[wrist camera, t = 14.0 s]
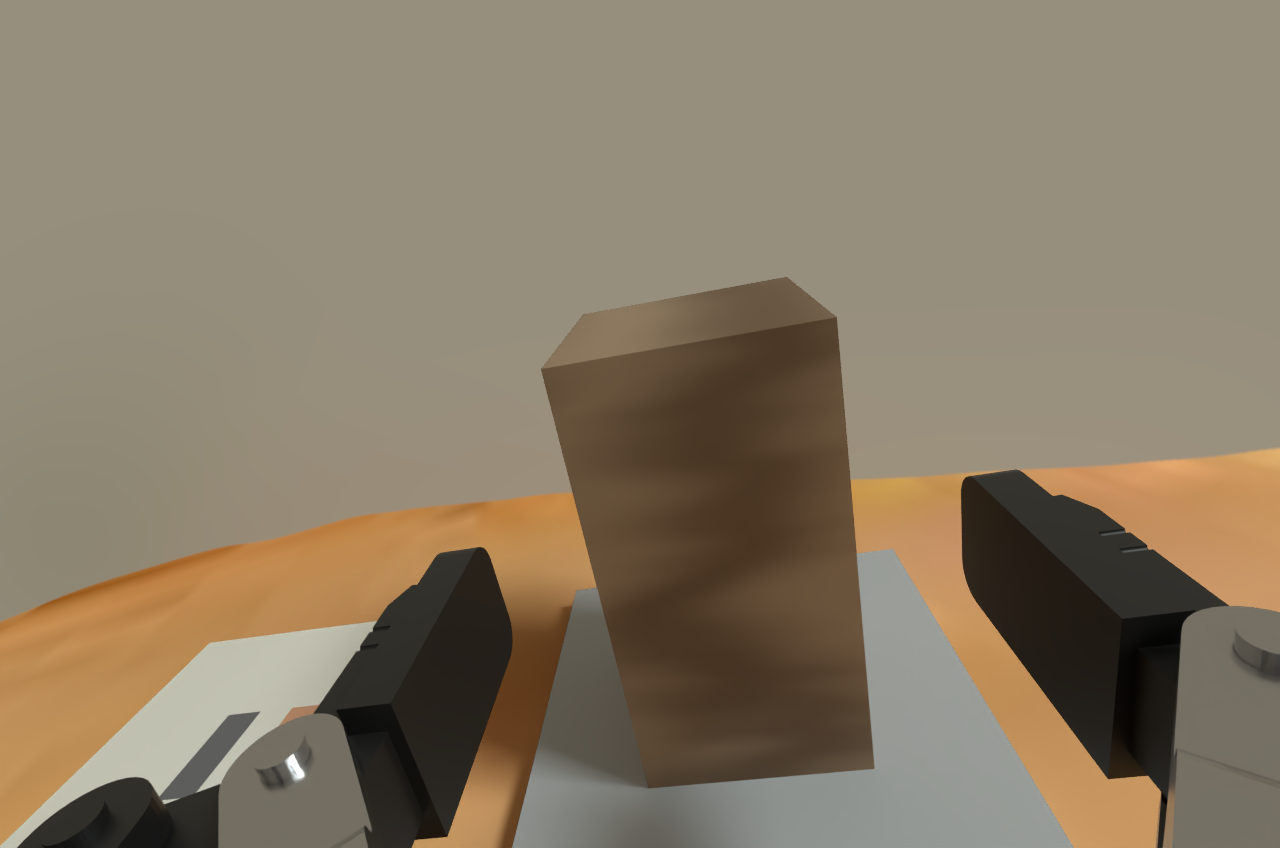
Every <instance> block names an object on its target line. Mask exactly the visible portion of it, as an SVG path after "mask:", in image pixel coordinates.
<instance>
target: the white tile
mask: <svg viewBox="0 0 1280 848" xmlns="http://www.w3.org/2000/svg"><path fill="white" fill-rule="evenodd" d="M376 622H377V621H374V622H366V623H359V624H351V625H343V626H336V627H328V628H320V629H313V630H305V631H297V632H290V633H282V634H274V635H267V636H259V637H251V638H244V639H236V640H229V641H221V642H213V643H209V644H208V645H207V646H206V647H205V648H204V649H203V650H202V651H201V652H200V653H199V654H198V655H197V656H196V657H195V658H194V659H193V660H192V661H191V662H190V663H189V664H188V665H187V666H186V667H185V668H183V669H182V670H181V671H180V672H179V673H178V674H177V675H176V676H175V677H174V678H173V679H172V680H171V681H170V682H169V683H168V684H167V685H166V686H165V687H164V688H163V689H162V690H161V691H160V692H159V693H158V694H157V695H156V696H155V697H154V698H153V699H151V700H150V701H149V702H148V703H147V704H146V705H145V706H144V707H143V708H142V709H141V710H140V711H139V712H138V713H137V714H136V715H135V716H134V717H133V718H132V719H131V720H130V721H129V722H128V723H127V724H126V725H125V726H124V727H123V728H122V729H121V730H120V731H118V732H117V733H116V734H115V735H114V736H113V737H112V738H111V739H110V740H109V741H108V742H107V743H106V744H105V745H104V746H103V747H102V748H101V749H100V750H99V751H98V752H97V753H96V754H95V755H94V756H93V757H92V758H91V759H90V760H89V761H88V762H86V763H85V764H84V765H83V766H82V767H81V768H80V769H79V770H78V771H77V772H76V773H75V774H74V775H73V776H72V777H71V778H70V779H69V780H68V781H67V782H66V783H65V784H64V785H63V786H62V787H61V788H60V789H59V790H58V791H57V792H56V793H54V794H53V795H52V796H51V797H50V798H49V799H48V800H47V801H46V802H45V803H44V804H43V805H42V806H41V807H40V808H39V809H38V810H37V811H36V812H35V813H34V814H33V815H32V816H31V817H30V818H29V819H28V820H27V821H26V822H25V823H24V824H22V825H21V826H20V827H19V828H18V829H17V830H16V831H15V832H14V833H13V834H12V835H11V836H10V837H9V838H8V839H7V840H6V841H5V842H4V843H3V844H2V845H1V846H0V848H17V847H18V846H19V845H20V844H21V843H22V842H23V841H24V840H25V839H26V838H27V837H28V836H29V835H30V834H31V833H32V832H33V831H34V830H35V829H36V828H37V827H38V826H40V825H41V824H42V823H43V822H44V821H45V820H47V819H48V818H49V817H51V816H52V815H53V814H55V813H56V812H57V811H58V810H60V809H61V808H63V807H64V806H66V805H67V804H69V803H70V802H72V801H74V800H75V799H77V798H79V797H80V796H82V795H84V794H86V793H88V792H90V791H92V790H93V789H95V788H98V787H100V786H102V785H105V784H107V783H110V782H113V781H116V780H119V779H124V778H129V777H141V778H144V779H147V780H148V781H149V782H150V783H151V784H152V786H153V787H154V789H155V790H156V792H157V794H158V795H159V797H160V798H161V800H162V802H163V803H164V804H167V803H169V802H172V801H175V800H177V799H180V798H183V797H186V796H188V795H191V794H194V793H197V792H199V791H202V790H205V789H207V788H210V787H213V786H216V785H218V784H221V782H222V780H223V778H224V776H225V774H226V772H227V771H228V769H229V768H230V767H231V765H232V764H233V763H234V761H235V760H236V759H237V758H238V757H239V756H240V755H241V754H242V753H243V752H244V751H245V750H246V749H247V748H248V747H249V746H250V745H252V744H253V743H254V742H255V741H257V740H258V739H259V738H261V737H262V736H263V735H265V734H266V733H268V732H269V731H271V730H273V729H275V728H276V727H278V726H280V725H282V724H284V723H286V722H288V721H291V720H293V719H296V718H299V717H302V716H306V715H311V714H313V713H314V712H315V710H316V709H317V707H318V706H319V705H320V703H321V702H322V700H323V699H324V697H325V696H326V694H327V693H328V692H329V690H330V689H331V687H332V686H333V684H334V683H335V681H336V680H337V679H338V677H339V676H340V674H341V673H342V671H343V670H344V668H345V667H346V665H347V664H348V663H349V661H350V660H351V658H352V657H353V655H354V654H355V652H356V651H360V645H361V644H362V642H363V641H364V639H365V638H366V637H367V635H368V634H369V632H373V626H374V625H375V623H376Z"/></svg>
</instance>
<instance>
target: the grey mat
mask: <svg viewBox="0 0 1280 848" xmlns="http://www.w3.org/2000/svg"><path fill="white" fill-rule="evenodd" d="M857 565H858V576H859V588H860V600H861V612H862V624H863V636H864V648H865V660H866V671H867V683H868V695H869V707H870V719H871V731H872V743H873V755H874V766H875V769H869V770H857V771H846V772H834V773H823V774H811V775H799V776H788V777H776V778H765V779H753V780H742V781H730V782H719V783H707V784H695V785H684V786H672V787H661V788H648V784H647V780H646V777H645V773H644V769H643V765H642V761H641V757H640V753H639V749H638V745H637V741H636V738H635V734H634V730H633V726H632V722H631V718H630V714H629V710H628V706H627V703H626V699H625V695H624V691H623V687H622V683H621V679H620V675H619V671H618V667H617V664H616V660H615V656H614V652H613V648H612V644H611V640H610V636H609V632H608V628H607V625H606V621H605V617H604V613H603V609H602V605H601V601H600V597H599V593H598V589H597V588H592V589H585V590H577V591H576V594H575V598H574V602H573V606H572V610H571V614H570V618H569V622H568V626H567V630H566V634H565V638H564V642H563V646H562V650H561V654H560V658H559V662H558V666H557V670H556V674H555V678H554V682H553V686H552V690H551V694H550V698H549V702H548V706H547V710H546V714H545V718H544V722H543V726H542V730H541V734H540V738H539V742H538V746H537V750H536V754H535V758H534V762H533V766H532V770H531V774H530V778H529V782H528V786H527V790H526V794H525V798H524V802H523V806H522V810H521V814H520V818H519V822H518V826H517V830H516V834H515V838H514V842H513V846H512V848H1074V847H1073V845H1072V844H1071V842H1070V840H1069V839H1068V837H1067V836H1066V834H1065V832H1064V831H1063V829H1062V827H1061V826H1060V824H1059V822H1058V821H1057V819H1056V817H1055V816H1054V814H1053V812H1052V811H1051V809H1050V807H1049V806H1048V804H1047V803H1046V801H1045V799H1044V798H1043V796H1042V794H1041V793H1040V791H1039V789H1038V788H1037V786H1036V784H1035V783H1034V781H1033V779H1032V778H1031V776H1030V774H1029V773H1028V771H1027V770H1026V768H1025V766H1024V765H1023V763H1022V761H1021V760H1020V758H1019V756H1018V755H1017V753H1016V751H1015V750H1014V748H1013V746H1012V745H1011V743H1010V741H1009V740H1008V738H1007V737H1006V735H1005V733H1004V732H1003V730H1002V728H1001V727H1000V725H999V723H998V722H997V720H996V718H995V717H994V715H993V713H992V712H991V710H990V708H989V707H988V705H987V704H986V702H985V700H984V699H983V697H982V695H981V694H980V692H979V690H978V689H977V687H976V685H975V684H974V682H973V680H972V679H971V677H970V675H969V674H968V672H967V670H966V669H965V667H964V666H963V664H962V662H961V661H960V659H959V657H958V656H957V654H956V652H955V651H954V649H953V647H952V646H951V644H950V642H949V641H948V639H947V637H946V636H945V634H944V633H943V631H942V629H941V628H940V626H939V624H938V623H937V621H936V619H935V618H934V616H933V614H932V613H931V611H930V609H929V608H928V606H927V604H926V603H925V601H924V600H923V598H922V596H921V595H920V593H919V591H918V590H917V588H916V586H915V585H914V583H913V581H912V580H911V578H910V576H909V575H908V573H907V571H906V570H905V568H904V567H903V565H902V563H901V562H900V560H899V558H898V557H897V555H896V553H895V552H894V550H893V549H889V550H881V551H873V552H866V553H858V554H857Z"/></svg>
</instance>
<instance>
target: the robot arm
mask: <svg viewBox="0 0 1280 848" xmlns="http://www.w3.org/2000/svg"><path fill="white" fill-rule="evenodd" d="M961 514H962V561H963V569H964V574H965V578H966V581H967V584H968V587H969V589H970V591H971V594H972V596H973V597H974V599H975V600H976V602H977V603H978V605H979V606H980V607H981V609H982V610H983V611H984V613H985V614H986V615H987V617H988V618H989V619H990V621H991V622H992V624H993V625H994V626H995V628H996V629H997V630H998V632H999V633H1000V634H1001V636H1002V637H1003V638H1004V640H1005V641H1006V642H1007V644H1008V645H1009V646H1010V648H1011V649H1012V650H1013V652H1014V653H1015V654H1016V656H1017V657H1018V659H1019V660H1020V661H1021V663H1022V664H1023V665H1024V667H1025V668H1026V669H1027V671H1028V672H1029V673H1030V675H1031V676H1032V677H1033V679H1034V680H1035V681H1036V683H1037V684H1038V685H1039V687H1040V688H1041V689H1042V691H1043V692H1044V693H1045V695H1046V696H1047V698H1048V699H1049V700H1050V702H1051V703H1052V704H1053V706H1054V707H1055V708H1056V710H1057V711H1058V712H1059V714H1060V715H1061V716H1062V718H1063V719H1064V720H1065V722H1066V723H1067V724H1068V726H1069V727H1070V728H1071V730H1072V731H1073V732H1074V734H1075V735H1076V737H1077V738H1078V739H1079V741H1080V742H1081V743H1082V745H1083V746H1084V747H1085V749H1086V750H1087V751H1088V753H1089V754H1090V755H1091V757H1092V758H1093V759H1094V761H1095V762H1096V763H1097V765H1098V766H1099V767H1100V769H1101V770H1102V772H1103V773H1104V774H1105V776H1106V777H1107V778H1108V779H1115V778H1126V777H1137V776H1149V777H1150V778H1151V780H1152V781H1153V782H1154V783H1155V785H1156V786H1157V787H1158V788H1159V789H1160V791H1161V796H1160V803H1159V811H1158V824H1157V837H1156V848H1280V612H1275V611H1271V610H1266V609H1260V608H1254V607H1243V606H1229V605H1227V604H1226V603H1225V602H1223V601H1222V600H1220V599H1219V598H1218V597H1216V596H1215V595H1214V594H1212V593H1211V592H1210V591H1208V590H1207V589H1206V588H1204V587H1203V586H1202V585H1200V584H1199V583H1198V582H1196V581H1195V580H1194V579H1192V578H1191V577H1189V576H1188V575H1187V574H1185V573H1184V572H1183V571H1181V570H1180V569H1179V568H1177V567H1176V566H1175V565H1173V564H1172V563H1171V562H1169V561H1168V560H1167V559H1165V558H1164V557H1163V556H1161V555H1160V554H1158V553H1157V552H1156V551H1154V550H1153V549H1152V550H1149V549H1148V548H1147V545H1146V544H1145V543H1144V542H1142V541H1141V540H1140V539H1138V538H1137V537H1136V536H1134V535H1133V534H1131V533H1126V532H1125V528H1123V527H1122V526H1121V525H1119V524H1118V523H1117V522H1115V521H1114V520H1113V519H1111V518H1110V517H1109V516H1107V515H1106V514H1105V513H1103V512H1102V511H1100V510H1099V509H1097V508H1095V507H1092V506H1089V505H1087V504H1084V503H1082V502H1079V501H1077V500H1074V499H1072V498H1069V497H1066V496H1064V495H1057V496H1052V495H1051V494H1049V493H1048V492H1047V491H1046V490H1044V489H1043V488H1042V487H1041V486H1039V485H1038V484H1037V483H1036V482H1034V481H1033V480H1032V479H1031V478H1029V477H1028V476H1027V475H1025V474H1024V473H1023V472H1021V471H1019V470H1009V471H1003V472H996V473H989V474H982V475H975V476H969V477H966V478H965V479H964V480H963V483H962V488H961ZM511 651H512V628H511V622H510V618H509V615H508V612H507V609H506V606H505V602H504V599H503V596H502V593H501V590H500V587H499V584H498V581H497V578H496V574H495V571H494V568H493V565H492V562H491V559H490V556H489V554H488V553H487V551H486V550H485V549H484V548H482V547H477V548H471V549H464V550H457V551H450V552H443V553H439V554H438V555H437V556H436V557H435V559H434V560H433V562H432V563H431V565H430V566H429V568H428V569H427V571H426V572H425V574H424V575H423V577H422V579H421V580H420V582H419V583H418V585H412V586H411V587H410V588H408V589H407V590H406V591H405V592H404V593H402V594H401V595H400V596H399V597H398V598H396V599H395V600H394V601H393V602H392V603H390V604H389V605H388V606H387V608H386V609H385V610H384V612H383V613H382V615H381V616H380V618H379V619H378V621H377V622H376V623H375V625H374V626H373V632H369V634H368V635H367V637H366V638H365V639H364V641H363V642H362V644H361V645H360V651H356V652H355V654H354V655H353V657H352V658H351V660H350V661H349V663H348V664H347V665H346V667H345V668H344V670H343V671H342V673H341V674H340V676H339V677H338V679H337V680H336V681H335V683H334V684H333V686H332V687H331V689H330V690H329V692H328V693H327V694H326V696H325V697H324V699H323V700H322V702H321V703H320V705H319V706H318V707H317V709H316V710H315V712H314V713H313V714H311V715H306V716H302V717H299V718H296V719H293V720H291V721H288V722H286V723H284V724H282V725H280V726H278V727H276V728H275V729H273V730H271V731H269V732H268V733H266V734H265V735H263V736H262V737H261V738H259V739H258V740H257V741H255V742H254V743H253V744H252V745H250V746H249V747H248V748H247V749H246V750H245V751H244V752H243V753H242V754H241V755H240V756H239V757H238V758H237V759H236V760H235V761H234V763H233V764H232V765H231V767H230V768H229V769H228V771H227V772H226V774H225V776H224V778H223V780H222V782H221V784H218V785H216V786H213V787H210V788H207V789H205V790H202V791H199V792H197V793H194V794H191V795H188V796H186V797H183V798H180V799H177V800H175V801H172V802H169V803H167V804H164V803H163V802H162V800H161V798H160V797H159V795H158V794H157V792H156V790H155V789H154V787H153V786H152V784H151V783H150V782H149V781H148V780H147V779H144V778H141V777H129V778H124V779H119V780H116V781H113V782H110V783H107V784H105V785H102V786H100V787H98V788H95V789H93V790H92V791H90V792H88V793H86V794H84V795H82V796H80V797H79V798H77V799H75V800H74V801H72V802H70V803H69V804H67V805H66V806H64V807H63V808H61V809H60V810H58V811H57V812H56V813H55V814H53V815H52V816H51V817H49V818H48V819H47V820H45V821H44V822H43V823H42V824H41V825H40V826H38V827H37V828H36V829H35V830H34V831H33V832H32V833H31V834H30V835H29V836H28V837H27V838H26V839H25V840H24V841H23V842H22V843H21V844H20V845H19V846H18V847H17V848H412V845H413V843H414V840H418V839H429V838H440V837H447V836H448V833H449V830H450V828H451V825H452V822H453V819H454V816H455V813H456V810H457V808H458V805H459V802H460V799H461V796H462V793H463V790H464V788H465V785H466V782H467V779H468V776H469V773H470V770H471V768H472V765H473V762H474V759H475V756H476V753H477V750H478V748H479V745H480V742H481V739H482V736H483V733H484V731H485V728H486V725H487V722H488V719H489V716H490V713H491V711H492V708H493V705H494V702H495V699H496V696H497V693H498V691H499V688H500V685H501V682H502V679H503V676H504V673H505V671H506V668H507V665H508V662H509V659H510V656H511Z"/></svg>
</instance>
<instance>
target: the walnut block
mask: <svg viewBox="0 0 1280 848" xmlns="http://www.w3.org/2000/svg"><path fill="white" fill-rule="evenodd" d="M541 371H542V375H543V378H544V383H545V386H546V390H547V394H548V398H549V402H550V406H551V410H552V414H553V417H554V422H555V426H556V430H557V433H558V437H559V441H560V445H561V449H562V453H563V457H564V461H565V465H566V468H567V472H568V476H569V480H570V484H571V488H572V492H573V496H574V500H575V504H576V508H577V511H578V515H579V519H580V523H581V527H582V531H583V535H584V539H585V543H586V547H587V550H588V554H589V558H590V562H591V566H592V570H593V574H594V578H595V582H596V586H597V589H598V593H599V597H600V601H601V605H602V609H603V613H604V617H605V621H606V625H607V628H608V632H609V636H610V640H611V644H612V648H613V652H614V656H615V660H616V664H617V667H618V671H619V675H620V679H621V683H622V687H623V691H624V695H625V699H626V703H627V706H628V710H629V714H630V718H631V722H632V726H633V730H634V734H635V738H636V741H637V745H638V749H639V753H640V757H641V761H642V765H643V769H644V773H645V777H646V780H647V784H648V788H661V787H672V786H684V785H695V784H707V783H719V782H730V781H742V780H753V779H765V778H776V777H788V776H799V775H811V774H823V773H834V772H846V771H857V770H869V769H875V766H874V755H873V743H872V731H871V719H870V707H869V695H868V683H867V671H866V660H865V648H864V636H863V624H862V612H861V600H860V588H859V576H858V565H857V553H856V541H855V529H854V517H853V505H852V493H851V481H850V470H849V459H848V446H847V434H846V423H845V411H844V399H843V388H842V375H841V363H840V351H839V339H838V328H837V317H836V316H834V315H833V314H832V313H831V312H829V311H828V310H827V309H825V307H823V306H822V305H821V304H820V303H818V302H817V301H816V300H815V299H813V298H812V297H811V296H810V295H808V294H807V293H806V292H805V291H803V290H802V289H801V288H800V287H799V286H797V285H796V284H795V283H794V282H792V281H791V280H790V279H789V278H787V277H784V278H779V279H773V280H768V281H762V282H757V283H751V284H747V285H741V286H736V287H730V288H724V289H719V290H713V291H708V292H703V293H698V294H692V295H686V296H681V297H675V298H671V299H665V300H659V301H654V302H649V303H643V304H638V305H632V306H627V307H621V308H616V309H611V310H606V311H600V312H595V313H589V314H584V315H583V316H582V317H581V318H580V319H579V321H578V322H577V323H576V325H575V326H574V327H573V328H572V330H571V331H570V332H569V334H568V335H567V336H566V337H565V339H564V340H563V341H562V343H561V344H560V345H559V346H558V348H557V349H556V350H555V352H554V353H553V354H552V355H551V357H550V358H549V359H548V361H547V362H546V363H545V365H544V366H543V367H542V368H541Z"/></svg>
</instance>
